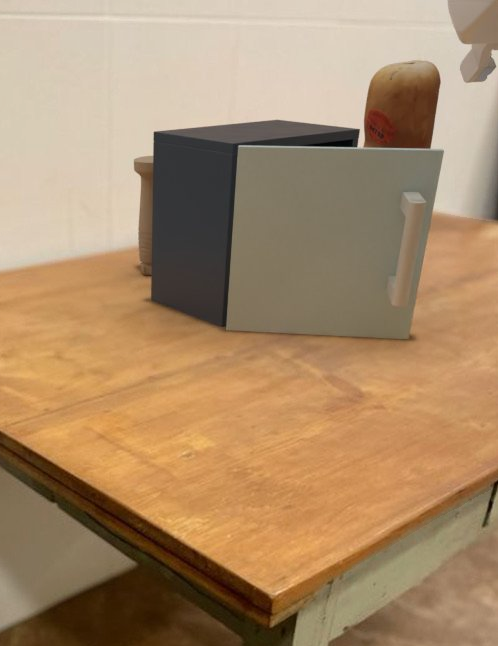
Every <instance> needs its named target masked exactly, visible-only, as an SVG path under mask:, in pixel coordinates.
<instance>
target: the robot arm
mask: <svg viewBox="0 0 498 646" xmlns="http://www.w3.org/2000/svg"><path fill="white" fill-rule="evenodd" d="M447 8H448V9H447V10H448V14H449V17H450V19H451V20H450V21H451V24H452V26H453V28H454V30H455V34H456V36H457V38H458V40H459V41H460V42H461V44H463V45H471V49H470V50H469V52H468V53H467V54H466V55H465V56H464V58H463V59H462V61H461V62H460V65H459V71H460V74H461V76H462V80H463V82H464V83H466V84H470V83H483V82H486V81H487V79H488V76H490V75H491V74H492V73H493V71H494V70H496V68H497V65H496V62H495V59H494V58H493V57H492V56H493V53H492V51H498V0H447Z"/></svg>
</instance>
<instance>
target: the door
mask: <svg viewBox="0 0 498 646" xmlns="http://www.w3.org/2000/svg"><path fill="white" fill-rule="evenodd" d="M444 154H445V150H444V149H443V148H431V149H419V148H363V147H361V146H360V147H308V146H253V145H239V146H238V158H237V173H236V188H235V203H234V218H233V233H232V249H231V264H230V279H229V294H228V309H227V324H226V326H225V330H226V331H235V332H252V333H253V332H256V333H272V334H273V333H274V334H275V333H276V334H294V335H315V336H333V337H334V336H336V337H354V338H374V339H375V338H376V339H394V340H409V339H410V333H411V328H412V322H413V318H414V317H413V316H414V312H415V307H416V303H417V302H416V301H417V296H418V291H419V286H420V280H421V276H422V270H423V265H424V259H425V254H426V250H427V244H428V238H429V233H430V227H431V223H432V217H433V213H434V212H433V211H434V207H435V201H436V196H437V190H438V186H439V181H440V175H441V171H442V170H441V169H442V164H443V159H444Z"/></svg>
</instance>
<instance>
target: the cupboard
mask: <svg viewBox="0 0 498 646" xmlns="http://www.w3.org/2000/svg"><path fill="white" fill-rule="evenodd" d="M360 133H361V129H360V128H355V127H344V126H336V125H327V124H320V123H319V124H318V123H310V122H309V123H308V122H301V121H294V120H293V121H292V120H284V119H270V120H260V121H250V122H249V121H247V122H242V123H241V122H239V123H229V124H227V123H226V124H219V125H218V124H217V125H209V126H208V125H207V126H197V127H187V128H176V129H165V130H157V131H153V139H152V140H153V143H152V144H153V146H152V149H153V150H152V151H153V153H152V156H153V205H152V269H151V277H150V279H151V280H150V301H151V302H153V303H157V304H159V305H162V306H165V307H167V308H170V309H172V310H175V311H178V312H181V313H183V314H186V315H187V316H191V317H193V318H197V319H198V320H202V321H205V322H207V323H210V324H212V325H215V326H218V327H220V328H224V327H226V324H227V309H228V294H229V279H230V264H231V249H232V233H233V218H234V203H235V188H236V173H237V158H238V146H239V145H253V146H308V147H358V145H359V138H360Z"/></svg>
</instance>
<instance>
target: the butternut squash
mask: <svg viewBox="0 0 498 646" xmlns="http://www.w3.org/2000/svg"><path fill="white" fill-rule="evenodd" d="M440 74H441V73H440V70H439V69H438V67H437V66H436V65H435V64H434V63H433V62H431V61H429V60H421V59H416V60H415V59H414V60H409V61H401V62H400V61H399V62H395V63H390V64H387V65H384V66H383V67H381V68H379V70H377V71H376V72H375V73H374V75H373V76H372V77H371V79H370V82H369V84H368V85H369V86H368V89H367V90H368V91H367V95H366V101H365V108H364V114H363V115H364V116H363V132H364V142H363V148H419V149H432V148H431V147H432V141H433V137H434V136H433V135H434V131H435V123H436V122H435V121H436V114H437V107H438V102H439V95H440V90H441V89H440V88H441V75H440Z"/></svg>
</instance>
